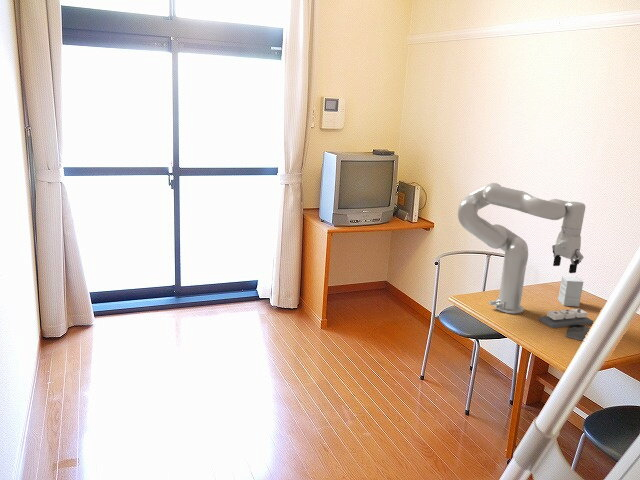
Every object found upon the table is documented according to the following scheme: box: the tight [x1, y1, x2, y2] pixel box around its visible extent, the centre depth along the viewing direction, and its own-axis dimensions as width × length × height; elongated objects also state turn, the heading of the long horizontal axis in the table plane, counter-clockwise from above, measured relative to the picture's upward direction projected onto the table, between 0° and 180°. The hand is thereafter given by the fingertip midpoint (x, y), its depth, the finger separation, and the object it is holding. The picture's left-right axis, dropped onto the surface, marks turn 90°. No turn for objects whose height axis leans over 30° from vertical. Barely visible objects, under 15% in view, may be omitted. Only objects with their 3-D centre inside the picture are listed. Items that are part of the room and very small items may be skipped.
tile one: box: [546, 310, 564, 320], centre depth 214 cm, size 5×5×2 cm
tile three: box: [570, 308, 588, 318], centre depth 217 cm, size 5×5×2 cm
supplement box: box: [557, 275, 584, 308], centre depth 236 cm, size 7×7×13 cm
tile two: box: [558, 309, 576, 319], centre depth 216 cm, size 5×5×2 cm
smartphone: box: [565, 324, 590, 342], centre depth 207 cm, size 7×1×16 cm
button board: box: [538, 315, 594, 329], centre depth 216 cm, size 21×8×2 cm, turn 105°
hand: (564, 269), depth 217 cm, fingers open, 9 cm apart
